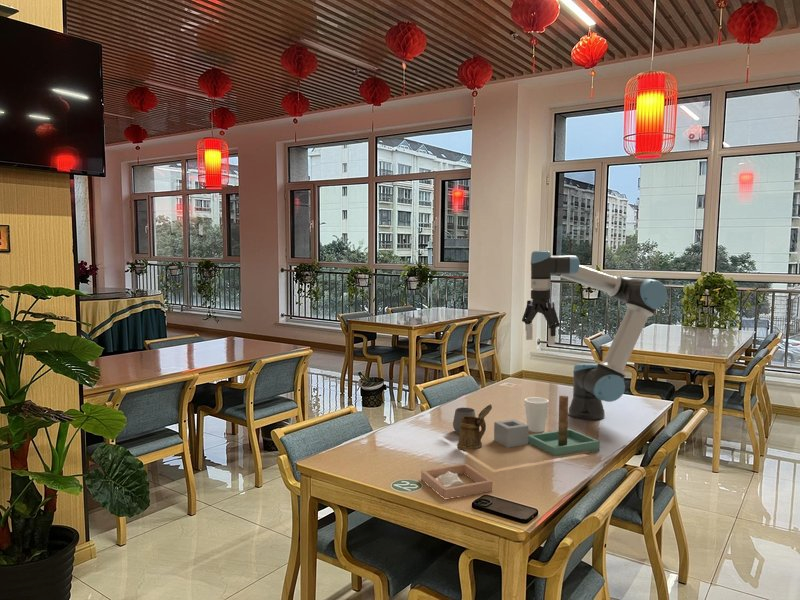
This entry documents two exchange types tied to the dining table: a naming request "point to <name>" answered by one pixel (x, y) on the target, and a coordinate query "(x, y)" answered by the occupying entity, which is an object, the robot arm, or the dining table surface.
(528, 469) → the dining table surface
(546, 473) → the dining table surface
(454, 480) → the white seashell
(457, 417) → the cup
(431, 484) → the pink square tray
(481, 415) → the wooden mug
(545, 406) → the foam cup
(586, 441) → the tray
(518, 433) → the grey hollow square block
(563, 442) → the dowel
